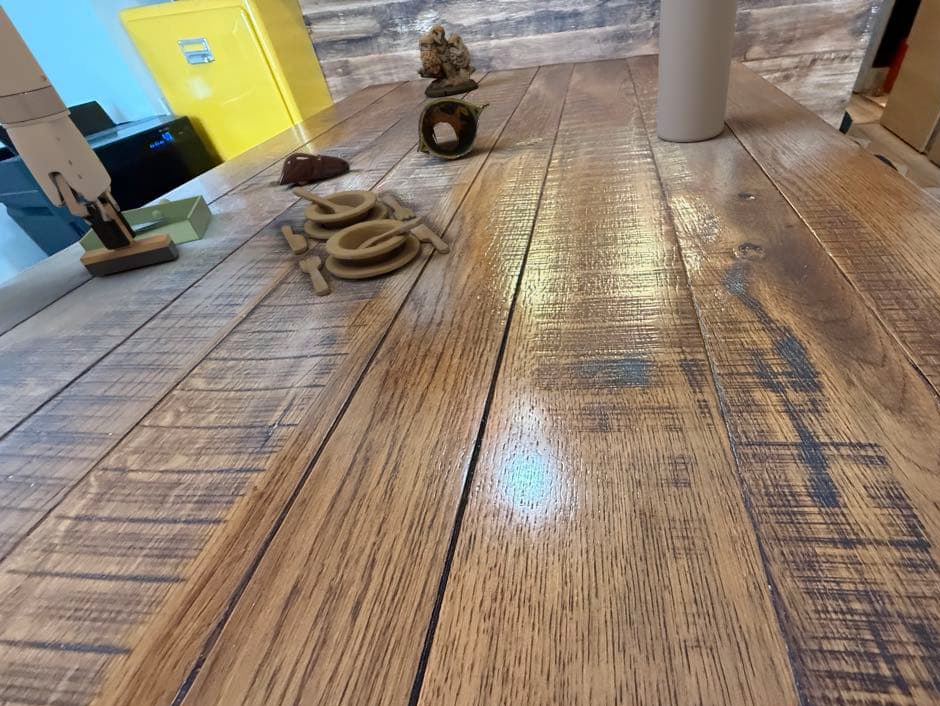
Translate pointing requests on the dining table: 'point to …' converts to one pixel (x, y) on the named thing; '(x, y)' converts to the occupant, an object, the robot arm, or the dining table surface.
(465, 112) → the pot
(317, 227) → the tableware set
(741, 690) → the dining table surface
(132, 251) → the brush
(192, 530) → the dining table surface
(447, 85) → the owl figurine
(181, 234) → the dustpan
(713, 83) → the cylinder vase
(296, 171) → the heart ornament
